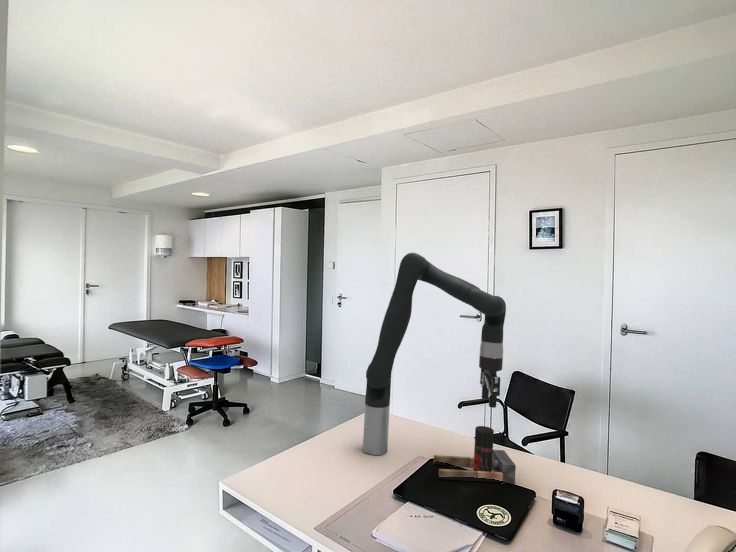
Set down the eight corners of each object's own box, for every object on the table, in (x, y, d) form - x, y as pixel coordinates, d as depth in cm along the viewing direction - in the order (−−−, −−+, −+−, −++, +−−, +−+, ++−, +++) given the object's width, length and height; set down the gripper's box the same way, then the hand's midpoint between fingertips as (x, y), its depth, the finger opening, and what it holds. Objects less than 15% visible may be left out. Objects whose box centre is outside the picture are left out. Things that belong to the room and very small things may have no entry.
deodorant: (493, 478, 130) (496, 433, 130) (475, 477, 131) (478, 432, 131) (488, 469, 136) (490, 426, 136) (471, 468, 136) (473, 425, 136)
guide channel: (438, 479, 128) (439, 461, 128) (433, 463, 139) (434, 446, 139) (514, 484, 128) (515, 465, 128) (503, 467, 139) (504, 450, 139)
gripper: (474, 350, 141) (472, 396, 140) (486, 358, 126) (483, 409, 126) (495, 351, 140) (493, 397, 140) (509, 360, 126) (506, 410, 126)
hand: (488, 403), depth 133 cm, fingers open, 8 cm apart
